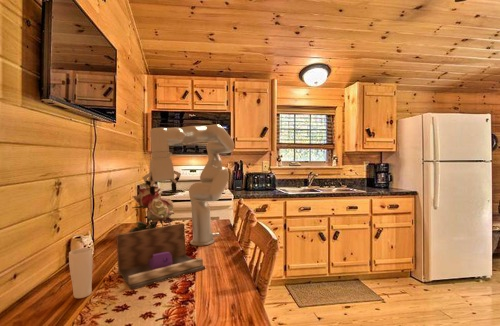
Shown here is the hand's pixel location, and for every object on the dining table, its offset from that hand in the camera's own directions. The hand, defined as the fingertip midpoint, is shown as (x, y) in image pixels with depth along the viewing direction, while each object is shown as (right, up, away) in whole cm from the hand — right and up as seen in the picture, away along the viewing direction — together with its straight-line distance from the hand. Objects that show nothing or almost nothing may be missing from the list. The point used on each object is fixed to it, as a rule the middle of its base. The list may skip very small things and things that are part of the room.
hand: (163, 193), depth 133 cm
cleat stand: (+3, -29, -15) cm, 33 cm away
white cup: (-17, -31, -34) cm, 49 cm away
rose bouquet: (-19, -29, +49) cm, 60 cm away
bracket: (+3, -28, -14) cm, 32 cm away
